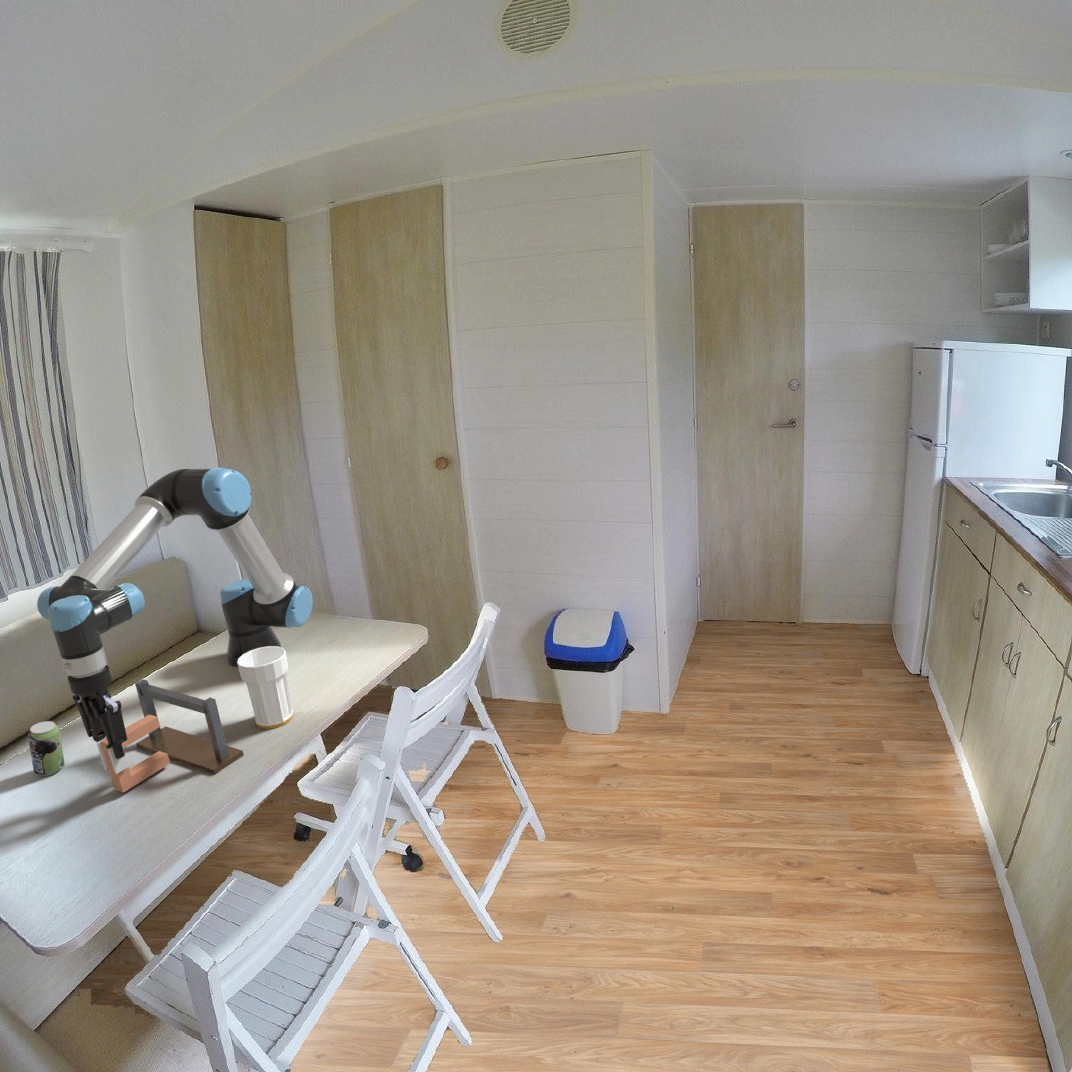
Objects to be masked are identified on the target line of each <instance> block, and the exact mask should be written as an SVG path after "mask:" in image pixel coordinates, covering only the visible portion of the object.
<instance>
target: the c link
mask: <svg viewBox="0 0 1072 1072" xmlns="http://www.w3.org/2000/svg"><path fill="white" fill-rule="evenodd" d="M159 727H160V728H161V724H160V721H159V716H157V717H156V716H153V715H150V714H149V715H147V716H146V717H144V716H143V717H142V718H140V719H138V720H137V721H134V722H132V723H131V724H130V725H128V726H126V727H125V730H126V734H127V740H126V741H125V742H123V743H122V746H123V749H125V748H126V747H128V746H129V745H132V744H133V743H135V742H137V741H138V740H140V739H141V738H142V739H143V738H145V736H147V735H149V733H150V732H152V731H154V730H156V729H157V728H159ZM105 738H106V737H105ZM101 744H102V747H103V751H104V754H105V757H106V761H107V764H108V767H109V770H108V771H109V773H110V774H109V775H110V776H111V781H112V784H113V787H114V789H115V790H116V791H118V792H120V793H125V792H127V791H128V790H129V789H132V788H133V787H135V786H136V785H138V784H140V783H141V782H143V781H144V780H146V779H148V778H149V777H151V776H152V775H154V774H155V773H157V772H158V771H160V770H162V769H163V768H165V767H166V766H168V765H170V764H171V761H170V759H169V757H168V754H167V753H164V752H161V751H158V752H157V753H155V754H154V753H152V755H150V756H149V757H147V758H145V759H143V760H141V761H140V762H139V763H137V764H135V765H133V766H131V767H127V768H126V769H124V770H122V771H121V772H119V773H117V774H116V773H115V772H114V769H113V765H112V762H111V759H110V755H109V752H108V749H107V748H106V746H107V745H109V743H108V741H107V738H106V739H104V740H102V741H101Z"/></svg>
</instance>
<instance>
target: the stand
mask: <svg viewBox="0 0 1072 1072" xmlns="http://www.w3.org/2000/svg"><path fill="white" fill-rule="evenodd" d="M134 684H135V688H136V692H137V696H138V699H139V703H140V707H141V710H142V713H143V718H144V717H146V716H147V715H149V714H150V715H153V716H156V717H158V714H157V709H156V705H155V704H154V700H155V701H159V702H163V703H167V704H169V705H173V706H177V707H180V708H184V709H188V710H191V711H194V712H197V713H201V714H204V716H205V721H206V724H207V728H208V732H209V736H210V737H209V738H210V739H207V738H205V737H201V736H197V735H194V734H192V733H188V732H185V731H181V730H179V729H175V728H173V727H170V726H169V727H168V726H166V725H165V726H163V727H162V728H161V726H160V727H159V728H157V729H156V730H154V731H152V732H150V733H149V734H148V736H146V737H143V738H142V739H141V740H139V741H138V742H137V741H136V743H135V745H136V748H137V749H140V750H143V751H146V752H148V753H152V754H155V753H157V752H158V751H161V752H164V753H167V754H168V757H169V760H172V761H175V762H178V763H181V764H183V765H186V766H190V767H193V768H194V769H195V768H196V769H198V770H200V771H204V772H206V773H209V774H212V775H217V774H218V773H220V772H221V771H222V770H224V769H226V768H227V767H228V766H229V765H231V764H233V763H234V762H235V761H237V760H239V759H241V758H242V757H243V756H244V751H243V750H242V749H238V748H236V747H232V746H230V745H229V746H228V745H227V742H226V738H225V734H224V730H223V726H222V721H221V718H220V714H219V713H220V712H219V709H218V705H217V701H216V698H212V697H207V698H206V699H204V698H199V697H195V696H191V695H188V694H184V693H181V692H177V691H173V690H170V689H166V688H164V687H159V686H156V685H152V684H149V681H148V680H146V679H143V678H142V679H140V680H139V681H136V682H135V683H134Z"/></svg>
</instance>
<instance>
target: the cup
mask: <svg viewBox="0 0 1072 1072" xmlns="http://www.w3.org/2000/svg"><path fill="white" fill-rule="evenodd" d="M237 665H238V666H237V668H238V671H239V675H240V676H239V677H240V679H241V680H242V682H243V683H245V684H246V686H247V691H248V694H249V698H250V702H251V706H252V710H253V714H254V717H255V719H254V720H255V721H254V722H255V725H256V727H257V728H260V729H265V730H266V729H267V730H271V729H276V728H280V727H282V726H285V725H286V724H287V723H289V722H290V721H291V720H292V719H293V718H294V710H293V708H292V703H291V698H290V692H289V685H288V679H287V673H288V669H289V664H288V659H287V652H286V649H284V648H283V647H282V646H281V647H277V646H267V647H261V648H257V649H254V650H251V651H249V652H247V653H245V654H243V655H242V656H241V657H240V658H239V659H238V661H237Z"/></svg>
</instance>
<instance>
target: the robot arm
mask: <svg viewBox="0 0 1072 1072" xmlns="http://www.w3.org/2000/svg"><path fill="white" fill-rule="evenodd" d="M251 492H252V490H251V486H250V483H249V481H248V480H247V479H246V477H245V476H244V475H243V474H242V473H240V472H239V471H237V470H234V469H232V468H231V469H230V468H223V467H214V468H181V469H177V470H173V471H171V472H169V473H167V474H165V475H163V476H161V477H160V478H159V479H157V480H156V481H155V482H153V483H152V484H151V485H150V486H148V487H147V488H146V489H145V490H144V491H143V492H142V493H141V494H140V495H139V496H138V497H137V498H136V499H135V501H134V508H133V509H132V510H131V511H130V512H129V513H128V514H127V516H125V517H124V519H122V521H120V523H118V525H117V526H116V527H115V528H114V529H113V530H112V531H111V532H110V534H108V535H107V537H106V538H105V539H104V540H103V541H102V542H101V543H100V544H99V545H98V546H97V547H96V548H95V549H94V550H93V552H92V553H90V554H89V556H88V557H87V558H86V559H85V560H84V561H83V563H81V564H80V566H78V568H77V569H75V570H74V572H73V573H72V574H71V575H70V576H69V577H68V578H67V579H66V580H65V581H64V582H63V583H62V584H61V585H60V586H58V585H57V586H52V587H48V588H45V589H44V590H42V592H41V593H40V594H39V595H38V598H37V604H36V607H37V611H38V613H39V614H40V616H41V617H42V618H43V619H46V620H48V621H49V623H50V628H51V630H52V633H53V637H54V639H55V641H56V644H57V645H56V646H57V647H58V651H59V655H60V657H61V660H62V663H63V664H61V665H62V666H61V667H62V669H64V670H65V673H66V675H67V680H68V681H67V682H68V685H69V688H70V691H71V693H72V694H73V695H72V699H73V701H74V702H75V705H76V706H77V709H78V712H79V714H80V718H81V721H82V724H83V726H84V728H85V729H84V730H85V731H86V735H87V737H88V738H91V737H92V740H93V741H94V742H96V746H97V750H98V753H99V756H100V759H101V763H102V766H103V769H104V770H106V771H107V770H108V769H109V767H108V764H107V761H106V757H105V754H104V751H103V747H102V744H101V741H102V740H104V739H106V738H107V741H108V743H109V745H107V746H106V748H107V749H108V752H109V755H110V759H111V762H112V765H113V769H114V772H115V773H116V774H117V773H119V772H121V771H122V770H124V769H126V768H127V767H129V763H128V761H127V760H128V759H127V756H126V753H125V750H124V749H125V748H123V746H122V743H123V742H125V741H126V740H127V734H126V730H125V728H126V727H125V723H124V719H123V718H124V717H123V714H122V702H121V700H116V701H114V700H113V699H112V695H111V693H110V691H109V690H108V688H109V686H110V684H111V683H112V681H113V677H112V673H111V670H110V667H109V665H108V660H107V655H106V652H105V649H104V645H103V642H102V638H101V635H102V634H105V633H106V632H108V631H110V630H112V629H114V628H115V627H117V626H119V625H121V624H123V623H125V622H127V621H130V620H132V619H133V618H134V617H136V616H137V615H139V614H140V613H141V612H143V610H144V609H145V604H146V602H145V601H146V600H145V597H144V593H143V592H142V590H140V589H139V587H137V586H136V585H135V584H133V583H129V582H124V583H122V584H119V585H114V587H112V588H109V587H110V586H111V585H112V584H113V583H114V582H115V581H116V579H118V577H119V576H120V575H121V574H122V573H123V571H125V570H126V568H127V567H128V565H130V563H131V562H132V561H134V559H135V558H136V557H137V556H138V555H139V553H140V552H141V551H142V550H144V548H145V547H146V546H147V544H149V542H150V541H151V540H152V539H153V538H154V537H155V536H156V534H157V533H158V532H159V531H160V530H161V528H165V527H168V526H170V525H171V524H172V523H173V522H174V520H176V519H177V518H180V517H182V516H199V518H201V520H202V521H203V523H204V524H205V526H206V527H207V529H209V530H211V531H217V532H218V534H219V536H220V538H221V539H222V540H223V542H224V543H225V545H226V547H227V548H228V549H229V551H230V553H231V554H232V556H233V558H234V559H235V560H236V562H237V564H238V565H239V567H240V569H241V570H242V571H243V573H244V574H245V576H246V577H245V578H242V579H240V580H239V579H238V580H236V581H233V582H231V583H229V584H227V585H226V586H224V587H223V588H221V590H220V593H219V596H220V603H221V607H222V611H223V615H224V619H225V625H226V627H227V628H226V629H227V632H228V644H227V651H226V657H227V661H228V664H229V665H231V666H234V667H238V665H237V661H238V659H239V658H240V657H241V656H242V655H243V654H245V653H247V652H249V651H251V650H254V649H257V648H261V647H267V646H277V647H281V648H282V646H281V645H282V644H281V641H280V639H279V638H278V636H277V635H276V633H275V631H274V630H273V628H272V627H274V628H275V627H277V628H286V629H287V628H288V629H291V628H300V627H302V626H304V625H305V624H306V623H307V621H308V620H309V618H310V616H311V613H312V609H313V604H314V603H313V594H312V592H311V590H310V589H309V587H307V586H304V585H300V586H299V585H297V583H296V582H295V580H294V578H293V577H292V576H291V575H290V574H289V573H287V572H286V573H285V572H283V571H282V569H281V567H280V566H279V563H278V562H277V561H276V559H275V557H274V556H273V553H272V552H271V550H270V549H269V546H267V544H266V542H265V540H264V538H263V537H262V535H261V534H260V532H259V530H258V528H257V527H256V526H255V523H254V521H253V520H252V519H251V517H250V515H249V513H250V512H251V511H250V510H251V503H252V495H251V494H250V493H251ZM129 768H130V767H129Z"/></svg>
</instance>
